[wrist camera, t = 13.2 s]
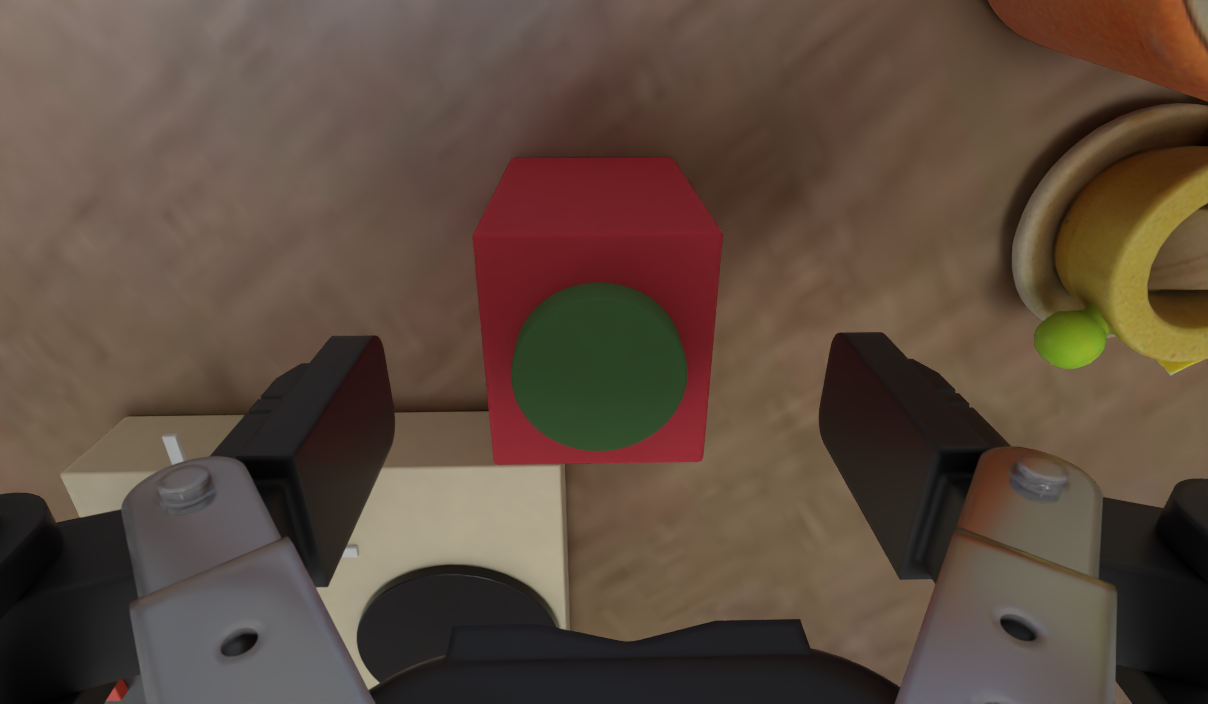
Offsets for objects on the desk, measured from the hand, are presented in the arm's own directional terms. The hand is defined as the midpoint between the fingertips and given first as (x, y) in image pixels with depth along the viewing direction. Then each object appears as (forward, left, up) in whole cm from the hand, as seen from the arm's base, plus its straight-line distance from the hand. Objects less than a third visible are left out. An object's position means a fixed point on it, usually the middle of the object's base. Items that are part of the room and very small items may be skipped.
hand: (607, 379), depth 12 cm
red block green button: (0, 0, -8) cm, 8 cm away
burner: (-5, -13, -5) cm, 14 cm away
